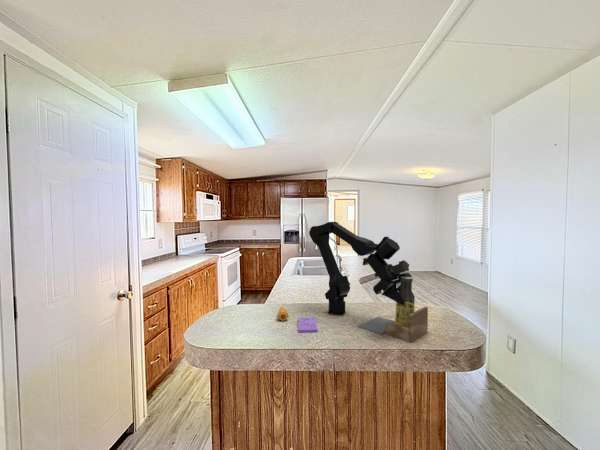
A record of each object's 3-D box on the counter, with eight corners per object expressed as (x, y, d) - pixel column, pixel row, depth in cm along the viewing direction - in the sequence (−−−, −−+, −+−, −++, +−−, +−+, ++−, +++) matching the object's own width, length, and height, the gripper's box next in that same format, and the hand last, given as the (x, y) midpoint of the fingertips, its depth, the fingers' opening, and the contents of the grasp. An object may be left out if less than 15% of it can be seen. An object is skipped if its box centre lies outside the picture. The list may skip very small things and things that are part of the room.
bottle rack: (385, 334, 106) (385, 309, 106) (402, 325, 115) (402, 301, 114) (411, 342, 99) (411, 315, 99) (427, 332, 108) (427, 307, 107)
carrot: (286, 324, 119) (290, 313, 120) (275, 320, 119) (279, 309, 119) (284, 312, 139) (288, 303, 139) (275, 309, 139) (279, 299, 139)
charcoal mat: (357, 326, 113) (357, 325, 113) (378, 317, 123) (378, 316, 123) (381, 334, 106) (381, 333, 106) (401, 323, 116) (401, 322, 116)
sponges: (315, 321, 121) (315, 316, 121) (317, 334, 108) (317, 328, 108) (297, 321, 121) (297, 317, 121) (298, 334, 108) (298, 329, 108)
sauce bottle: (394, 334, 106) (394, 278, 105) (395, 328, 112) (395, 274, 111) (414, 337, 103) (414, 279, 103) (414, 330, 109) (415, 276, 108)
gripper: (380, 256, 103) (412, 294, 95) (407, 251, 116) (436, 284, 108) (361, 276, 109) (389, 313, 101) (388, 269, 122) (414, 301, 114)
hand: (408, 302), depth 106 cm, fingers closed on sauce bottle, 6 cm apart
